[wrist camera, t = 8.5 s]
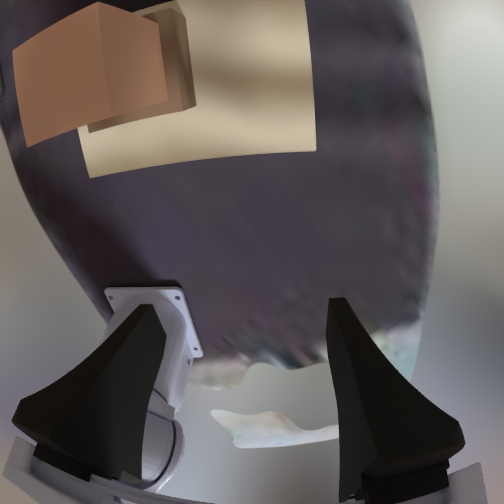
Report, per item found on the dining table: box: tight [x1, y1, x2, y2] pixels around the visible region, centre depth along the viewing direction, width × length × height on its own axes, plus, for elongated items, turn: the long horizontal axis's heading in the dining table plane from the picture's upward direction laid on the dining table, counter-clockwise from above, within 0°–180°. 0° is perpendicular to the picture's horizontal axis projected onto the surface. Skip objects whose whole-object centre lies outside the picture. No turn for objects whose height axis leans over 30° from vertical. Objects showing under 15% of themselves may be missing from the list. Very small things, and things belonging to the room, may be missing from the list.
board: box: [78, 0, 316, 178], centre depth 15 cm, size 11×16×1 cm
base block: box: [87, 8, 197, 133], centre depth 13 cm, size 6×6×3 cm
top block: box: [12, 2, 168, 147], centre depth 10 cm, size 4×4×6 cm
